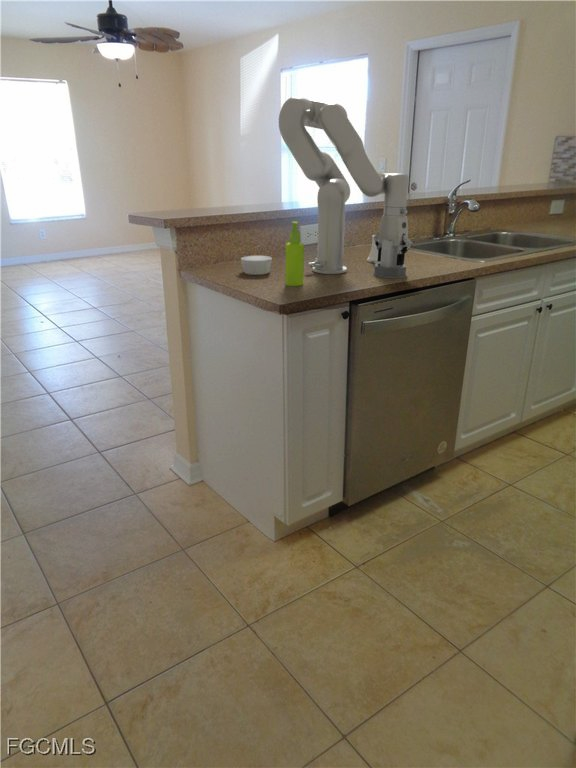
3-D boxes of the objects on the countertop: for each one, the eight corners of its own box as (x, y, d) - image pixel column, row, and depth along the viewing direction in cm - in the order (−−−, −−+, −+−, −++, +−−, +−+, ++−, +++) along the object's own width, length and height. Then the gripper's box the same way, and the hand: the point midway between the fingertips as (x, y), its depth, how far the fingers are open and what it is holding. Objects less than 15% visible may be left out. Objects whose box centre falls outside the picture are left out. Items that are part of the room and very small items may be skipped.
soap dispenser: (302, 281, 186) (303, 220, 178) (303, 286, 180) (304, 223, 172) (285, 281, 186) (285, 220, 178) (285, 286, 180) (286, 222, 172)
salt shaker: (371, 258, 224) (373, 233, 220) (388, 260, 221) (391, 235, 217) (364, 261, 218) (365, 236, 214) (381, 263, 215) (383, 237, 211)
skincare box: (390, 271, 200) (393, 237, 195) (399, 273, 196) (402, 239, 191) (378, 273, 196) (381, 239, 191) (388, 275, 193) (391, 240, 188)
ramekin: (237, 270, 202) (237, 256, 200) (266, 268, 205) (266, 254, 203) (246, 276, 192) (245, 261, 190) (276, 274, 196) (276, 259, 194)
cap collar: (390, 279, 189) (391, 270, 187) (366, 274, 197) (367, 264, 196) (412, 275, 195) (413, 266, 194) (388, 270, 204) (389, 260, 202)
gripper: (421, 213, 183) (416, 265, 190) (383, 209, 196) (379, 258, 203) (406, 215, 179) (401, 268, 186) (368, 210, 192) (365, 260, 199)
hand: (390, 262), depth 195 cm, fingers open, 8 cm apart
